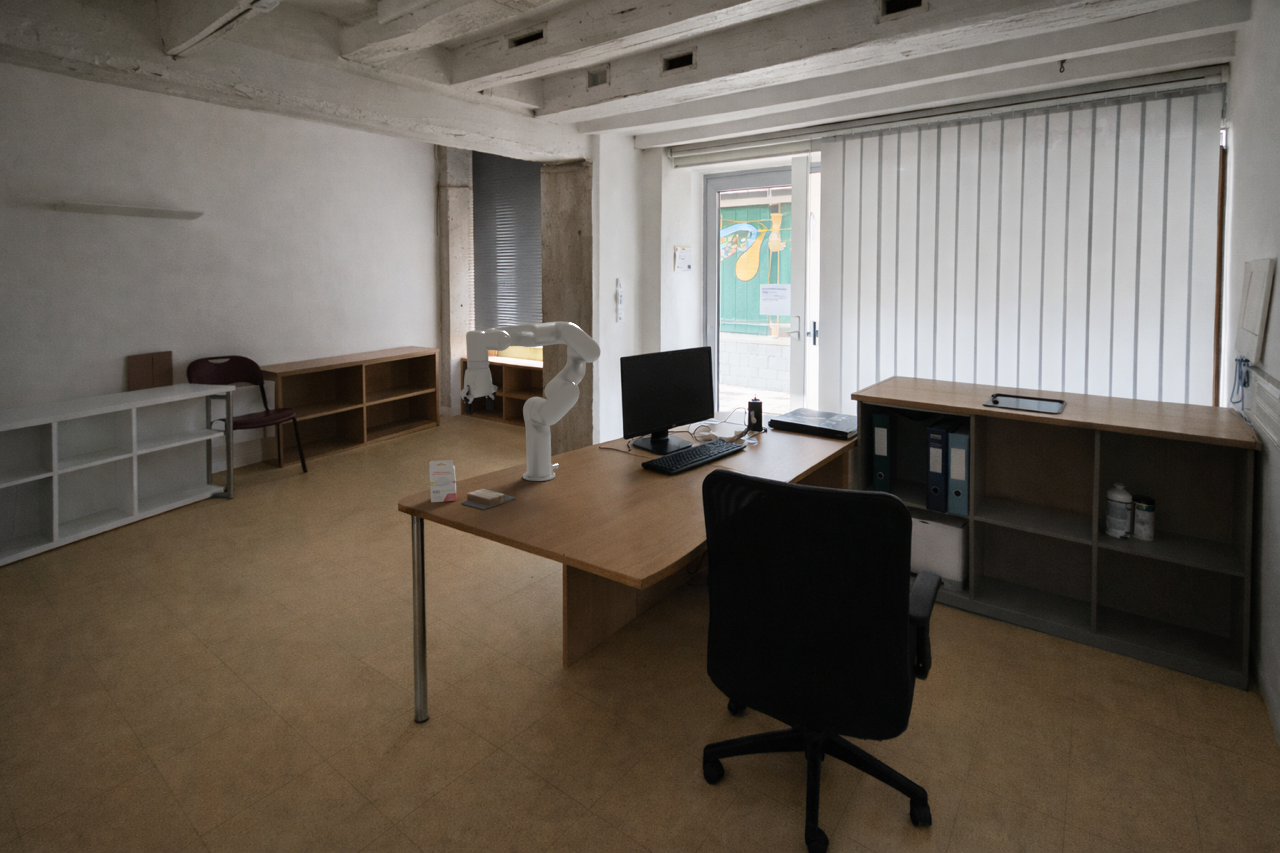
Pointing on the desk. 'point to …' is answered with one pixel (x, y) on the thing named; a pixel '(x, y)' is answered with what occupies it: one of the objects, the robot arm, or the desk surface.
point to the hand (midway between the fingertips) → (479, 412)
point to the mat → (482, 506)
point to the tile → (486, 497)
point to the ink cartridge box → (442, 481)
